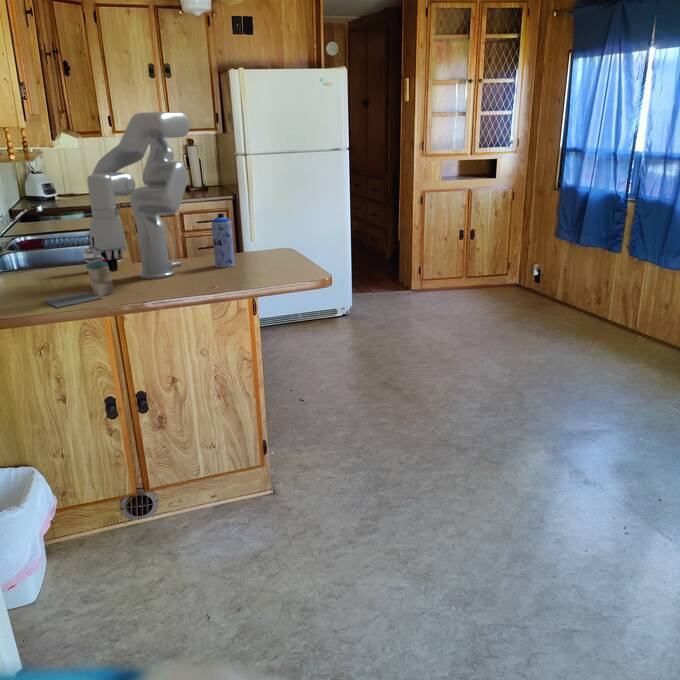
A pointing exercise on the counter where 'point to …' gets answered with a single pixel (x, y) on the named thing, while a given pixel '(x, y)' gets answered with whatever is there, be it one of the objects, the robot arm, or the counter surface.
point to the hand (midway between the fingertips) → (112, 270)
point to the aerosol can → (223, 241)
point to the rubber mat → (71, 299)
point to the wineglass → (91, 256)
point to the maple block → (100, 278)
